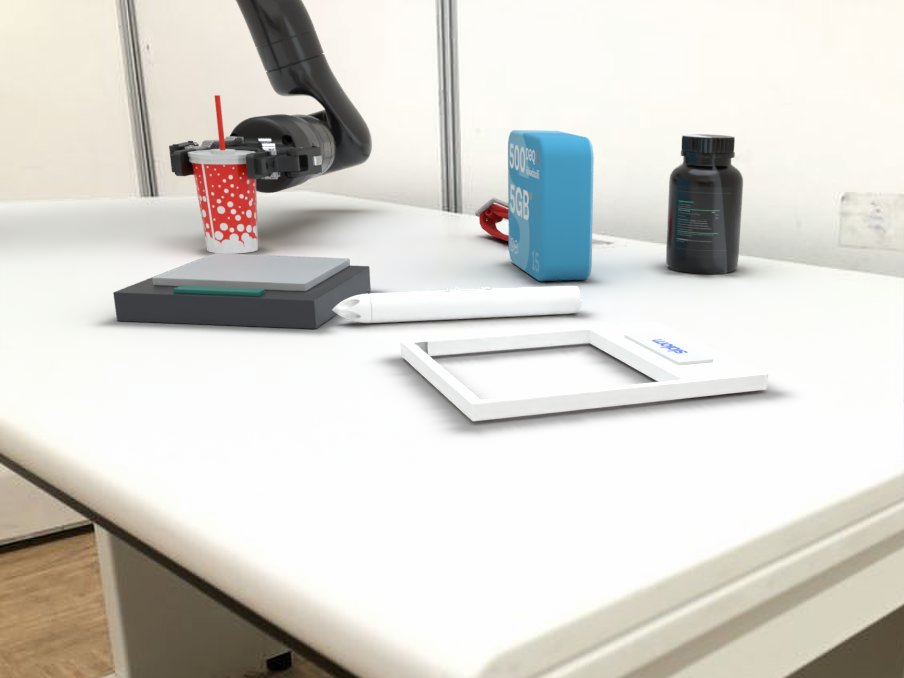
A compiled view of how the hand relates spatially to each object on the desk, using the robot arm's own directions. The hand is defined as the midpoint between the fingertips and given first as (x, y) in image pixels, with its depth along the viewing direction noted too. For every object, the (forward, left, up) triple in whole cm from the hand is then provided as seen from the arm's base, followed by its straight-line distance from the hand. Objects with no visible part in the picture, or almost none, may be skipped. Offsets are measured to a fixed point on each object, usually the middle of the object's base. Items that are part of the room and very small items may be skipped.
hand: (214, 165), depth 101 cm
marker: (+27, -24, -8) cm, 37 cm away
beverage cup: (0, +2, -8) cm, 9 cm away
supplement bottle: (+45, +2, -8) cm, 46 cm away
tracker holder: (+27, +15, -8) cm, 32 cm away
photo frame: (+37, -38, -8) cm, 53 cm away
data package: (+31, -3, -8) cm, 32 cm away
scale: (+11, -22, -8) cm, 26 cm away
